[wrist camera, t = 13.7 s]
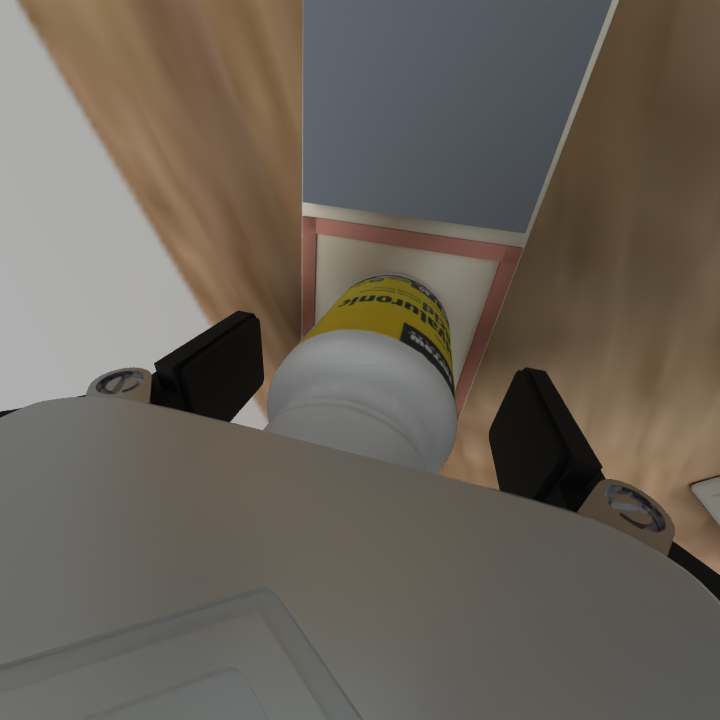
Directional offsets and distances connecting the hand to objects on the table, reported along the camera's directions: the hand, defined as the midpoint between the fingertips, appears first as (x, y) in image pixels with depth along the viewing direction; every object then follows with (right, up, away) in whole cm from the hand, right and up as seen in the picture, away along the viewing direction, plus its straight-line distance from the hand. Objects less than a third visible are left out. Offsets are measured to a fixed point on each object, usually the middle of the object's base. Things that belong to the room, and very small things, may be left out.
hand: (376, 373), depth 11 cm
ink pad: (+2, +10, -1) cm, 10 cm away
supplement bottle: (+1, +2, +3) cm, 4 cm away
